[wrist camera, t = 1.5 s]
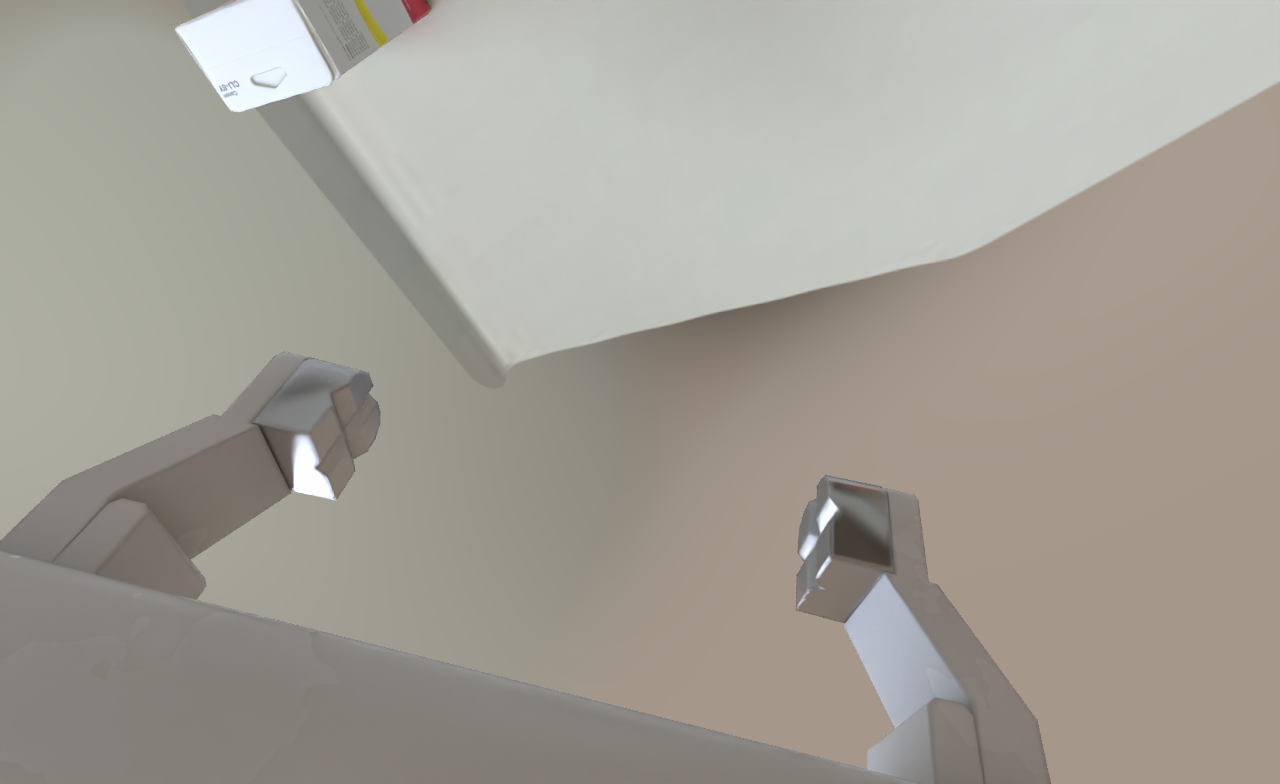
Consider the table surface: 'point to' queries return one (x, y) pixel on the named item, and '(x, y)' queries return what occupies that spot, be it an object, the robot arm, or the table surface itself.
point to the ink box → (290, 43)
